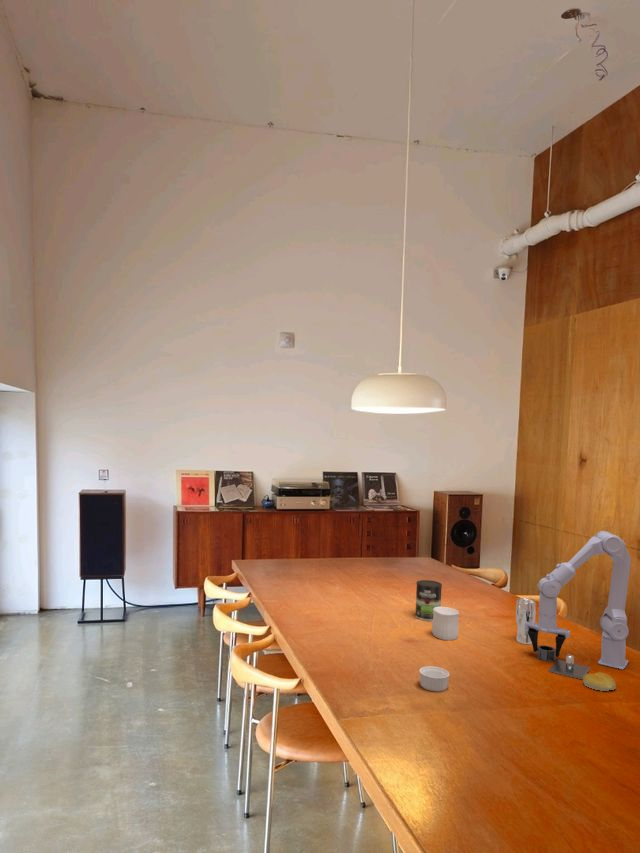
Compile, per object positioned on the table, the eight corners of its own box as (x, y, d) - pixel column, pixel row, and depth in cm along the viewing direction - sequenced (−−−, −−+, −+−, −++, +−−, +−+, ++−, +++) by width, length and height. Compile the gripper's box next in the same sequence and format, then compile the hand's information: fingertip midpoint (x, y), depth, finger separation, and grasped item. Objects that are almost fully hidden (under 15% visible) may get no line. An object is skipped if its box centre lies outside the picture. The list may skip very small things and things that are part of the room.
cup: (451, 642, 217) (452, 615, 217) (426, 636, 223) (427, 610, 223) (462, 636, 225) (463, 610, 225) (438, 630, 231) (439, 604, 231)
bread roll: (577, 682, 186) (577, 669, 186) (601, 680, 188) (602, 667, 188) (595, 694, 178) (596, 680, 178) (621, 691, 180) (621, 678, 180)
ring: (540, 654, 209) (540, 644, 209) (556, 658, 205) (557, 648, 206) (535, 658, 204) (535, 648, 204) (552, 662, 201) (552, 652, 201)
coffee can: (439, 622, 240) (440, 587, 240) (413, 619, 243) (414, 584, 243) (441, 615, 250) (443, 581, 250) (417, 612, 253) (418, 579, 253)
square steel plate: (557, 661, 202) (558, 647, 202) (589, 669, 196) (590, 654, 196) (549, 671, 193) (549, 656, 193) (582, 680, 187) (582, 664, 187)
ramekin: (427, 677, 185) (428, 663, 185) (454, 686, 179) (454, 671, 179) (413, 686, 178) (413, 671, 178) (440, 695, 173) (440, 680, 173)
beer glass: (519, 636, 226) (520, 597, 226) (537, 641, 222) (538, 600, 222) (511, 641, 221) (513, 600, 221) (530, 646, 217) (532, 604, 217)
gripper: (522, 612, 206) (521, 651, 206) (567, 621, 198) (565, 662, 197) (528, 607, 212) (527, 646, 212) (572, 616, 203) (570, 656, 203)
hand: (546, 653), depth 205 cm, fingers open, 7 cm apart
